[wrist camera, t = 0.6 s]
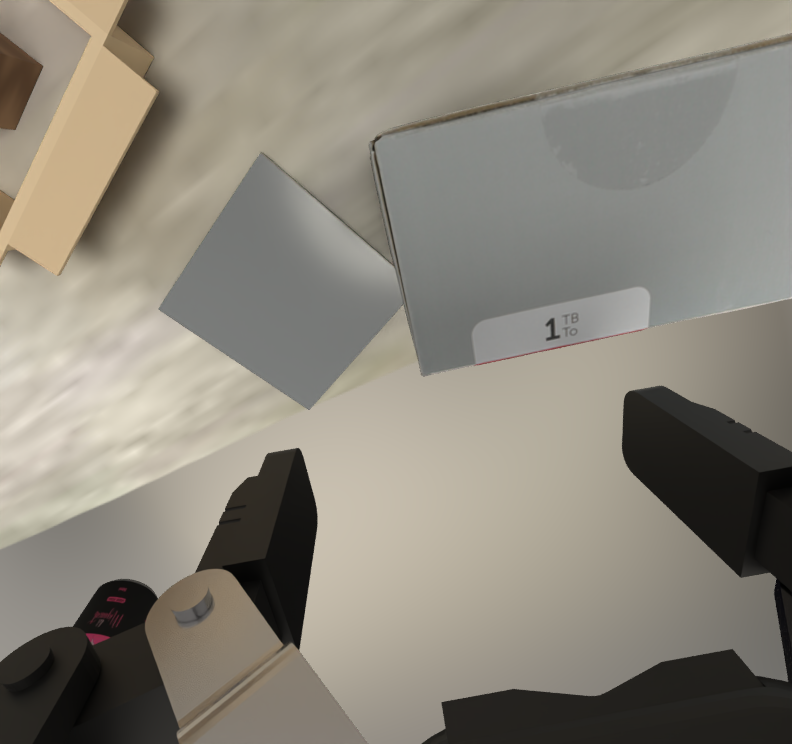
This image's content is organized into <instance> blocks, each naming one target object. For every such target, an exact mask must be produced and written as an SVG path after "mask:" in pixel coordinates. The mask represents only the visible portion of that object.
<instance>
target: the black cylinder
mask: <svg viewBox="0 0 792 744" xmlns="http://www.w3.org/2000/svg"><path fill="white" fill-rule="evenodd" d="M157 600H158V598H157V596H156V594H155V593H154V591H153V590H152V589H151V588H150V587H148V586H147V585H145V584H143V583H141V582H138V581H135V580H130V579H118V580H114V581H110V582H107V583H105V584H103V585H102V586H100V587H99V588H98V590H97V591H96V593H95V594H94V596H93V597H92V599H91V600H90V602H89V603H88V605H87V606H86V608H85V609H84V611H83V612H82V614H81V615H80V617H79V618H78V620H77V621H76V623H75V624H74V626H73V627H76V628H80V629H81V630H83V631H84V632H85V634H86V635H87V637H88V639H89V640H90V642H91V644H92V645H94V644H97V643H99V642H101V641H104V640H106V639H108V638H111V637H113V636H115V635H118V634H120V633H122V632H125V631H127V630H129V629H131V628H134V627H136V626H138V625H140V624H143V623H145V622H146V619H147V616H148V614H149V612H150V610H151V608H152V606H153V605H154V604H155V602H156V601H157Z"/></svg>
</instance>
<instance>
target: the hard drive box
mask: <svg viewBox="0 0 792 744" xmlns="http://www.w3.org/2000/svg"><path fill="white" fill-rule="evenodd" d="M369 148H370V155H371V156H370V160H371V165H372V170H373V175H374V180H375V184H376V189H377V194H378V198H379V203H380V208H381V212H382V217H383V221H384V225H385V230H386V234H387V239H388V243H389V247H390V252H391V255H392V259H393V262H394V267H395V271H396V275H397V280H398V284H399V288H400V292H401V296H402V300H403V304H404V308H405V312H406V316H407V320H408V324H409V328H410V332H411V335H412V339H413V343H414V346H415V350H416V354H417V358H418V361H419V366H420V372H421V375H422V376H428V375H432V374H436V373H441V372H446V371H450V370H455V369H459V368H463V367H469V366H475V365H481V364H486V363H491V362H495V361H500V360H505V359H510V358H514V357H519V356H524V355H528V354H532V353H537V352H542V351H547V350H552V349H557V348H561V347H566V346H570V345H575V344H580V343H585V342H589V341H594V340H599V339H603V338H608V337H613V336H617V335H622V334H627V333H632V332H636V331H641V330H644V329H647V328H651V327H655V326H660V325H664V324H670V323H674V322H679V321H684V320H689V319H694V318H699V317H705V316H710V315H715V314H720V313H725V312H731V311H736V310H740V309H745V308H750V307H754V306H758V305H763V304H768V303H772V302H777V301H781V300H786V299H791V298H792V33H791V34H786V35H782V36H778V37H773V38H769V39H765V40H761V41H757V42H752V43H748V44H744V45H740V46H736V47H732V48H727V49H723V50H719V51H715V52H711V53H707V54H702V55H698V56H694V57H689V58H685V59H681V60H676V61H672V62H668V63H663V64H659V65H655V66H650V67H646V68H641V69H637V70H633V71H628V72H624V73H619V74H615V75H611V76H606V77H602V78H597V79H593V80H589V81H585V82H580V83H576V84H572V85H567V86H563V87H559V88H555V89H550V90H546V91H542V92H538V93H533V94H529V95H525V96H520V97H516V98H511V99H507V100H502V101H498V102H494V103H489V104H485V105H480V106H476V107H472V108H468V109H464V110H460V111H456V112H452V113H448V114H444V115H440V116H436V117H432V118H428V119H424V120H420V121H417V122H413V123H409V124H405V125H402V126H398V127H395V128H392V129H389V130H386V131H383V132H381V133H380V134H378V135H377V136H376V138H375V140H373V141H371V142H370V144H369Z"/></svg>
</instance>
